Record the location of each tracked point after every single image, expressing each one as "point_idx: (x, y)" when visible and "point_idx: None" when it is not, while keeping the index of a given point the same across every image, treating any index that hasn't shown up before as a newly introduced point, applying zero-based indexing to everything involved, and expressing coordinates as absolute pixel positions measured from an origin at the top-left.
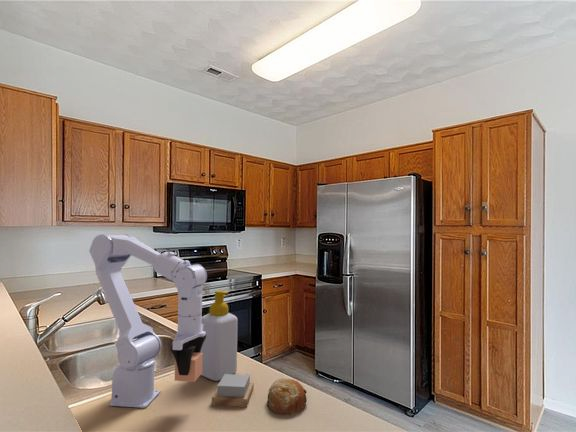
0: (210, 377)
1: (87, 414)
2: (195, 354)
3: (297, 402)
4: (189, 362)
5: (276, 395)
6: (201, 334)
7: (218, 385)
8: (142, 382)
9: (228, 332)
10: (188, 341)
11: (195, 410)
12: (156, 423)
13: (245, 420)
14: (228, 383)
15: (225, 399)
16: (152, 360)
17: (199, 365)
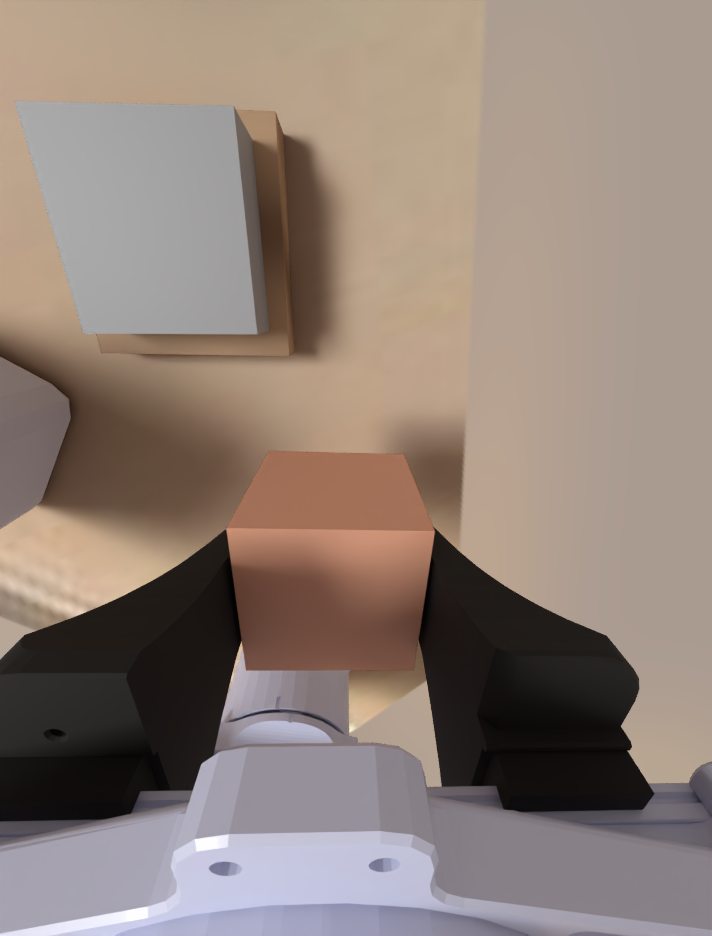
0: (61, 434)
1: (394, 687)
2: (286, 574)
3: None
4: (468, 561)
5: None
6: (435, 843)
7: (251, 328)
8: None
9: None
10: (201, 750)
11: (346, 409)
12: (438, 510)
13: (417, 112)
14: (208, 264)
15: (285, 274)
16: (258, 736)
17: (321, 485)
